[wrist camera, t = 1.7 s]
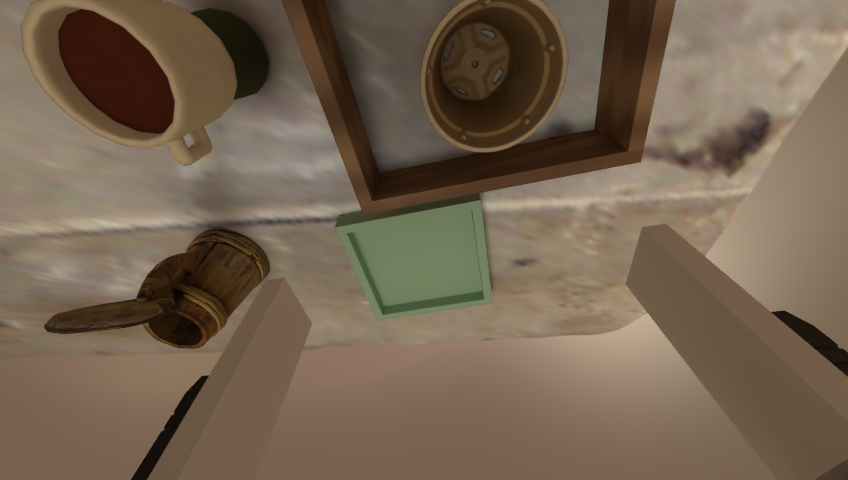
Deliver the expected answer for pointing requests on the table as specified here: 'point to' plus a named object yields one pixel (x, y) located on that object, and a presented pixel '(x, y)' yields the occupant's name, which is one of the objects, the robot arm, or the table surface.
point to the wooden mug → (181, 293)
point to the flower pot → (493, 72)
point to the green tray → (419, 256)
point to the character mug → (143, 68)
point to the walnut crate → (547, 159)
